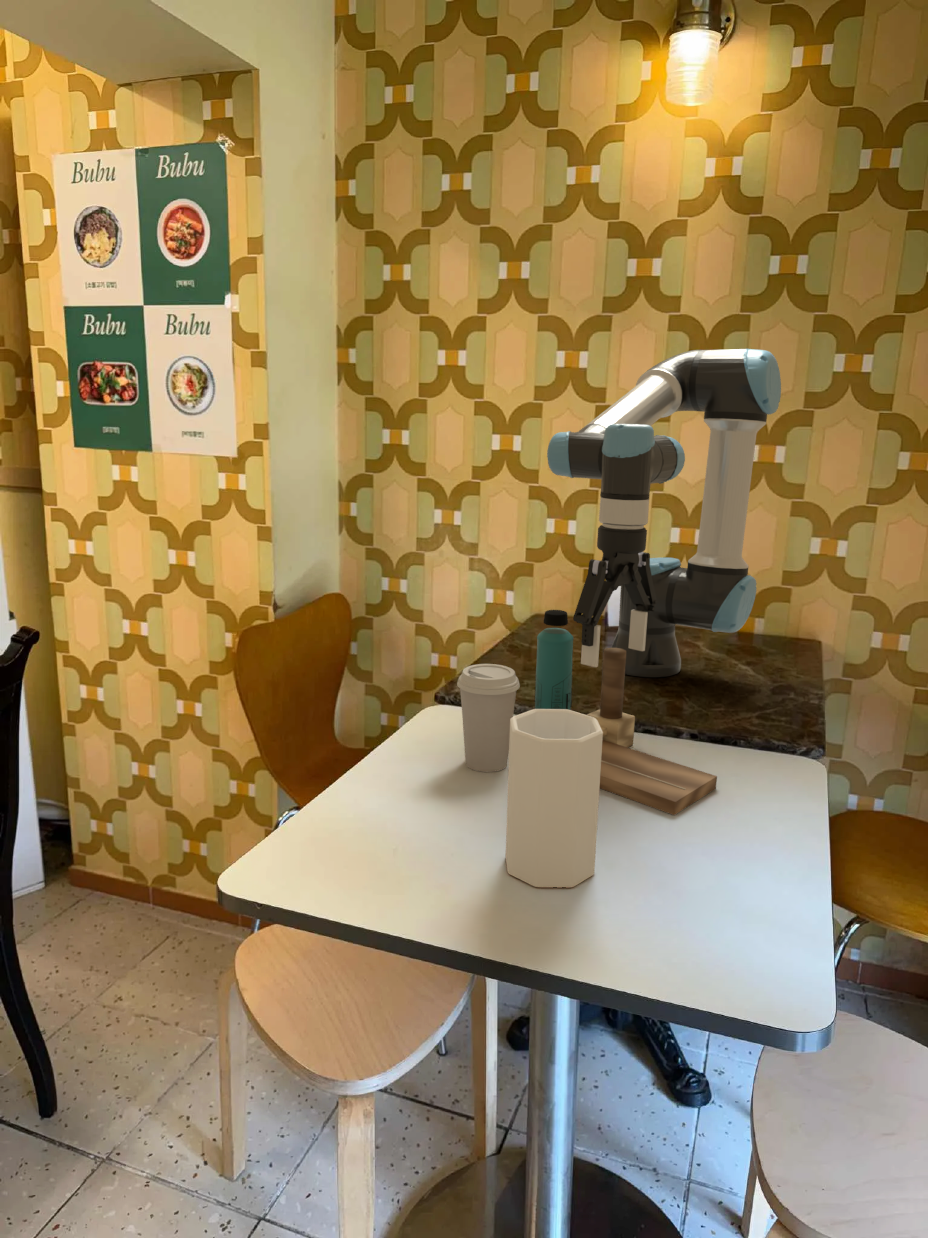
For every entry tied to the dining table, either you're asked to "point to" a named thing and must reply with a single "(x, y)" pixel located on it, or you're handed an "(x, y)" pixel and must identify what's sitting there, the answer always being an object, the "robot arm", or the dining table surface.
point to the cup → (553, 797)
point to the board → (652, 779)
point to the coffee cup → (487, 714)
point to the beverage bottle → (554, 664)
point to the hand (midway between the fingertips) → (613, 657)
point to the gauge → (614, 700)
